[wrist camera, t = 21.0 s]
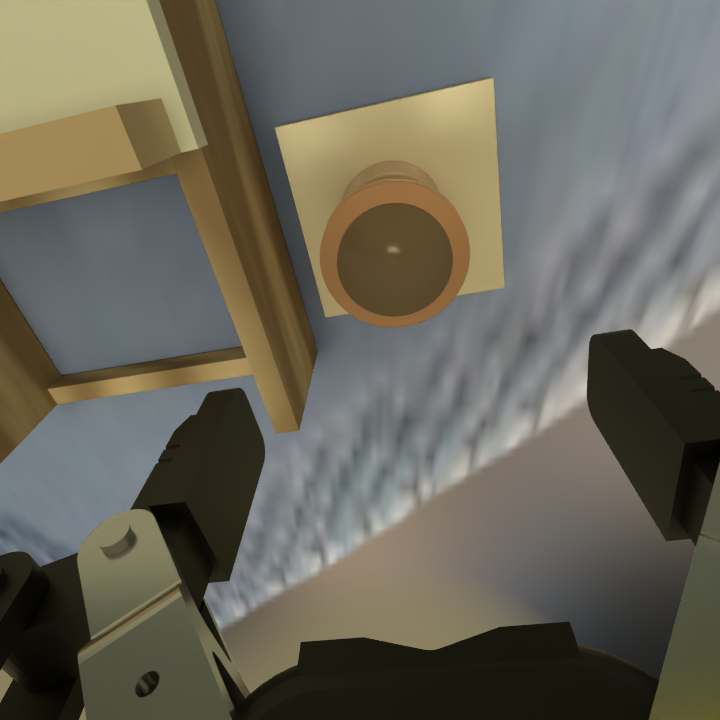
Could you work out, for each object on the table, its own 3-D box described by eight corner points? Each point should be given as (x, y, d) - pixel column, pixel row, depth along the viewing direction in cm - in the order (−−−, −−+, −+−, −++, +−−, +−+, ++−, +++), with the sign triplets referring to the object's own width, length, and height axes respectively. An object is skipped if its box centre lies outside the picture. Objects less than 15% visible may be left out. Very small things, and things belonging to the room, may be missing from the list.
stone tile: (327, 310, 28) (325, 317, 27) (278, 125, 23) (274, 127, 22) (500, 280, 27) (504, 287, 26) (489, 77, 22) (493, 77, 21)
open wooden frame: (54, 393, 32) (-27, 474, 26) (-323, -184, 18) (-698, -316, 12) (317, 352, 30) (298, 430, 23) (111, -358, 16) (-74, -643, 9)
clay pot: (347, 278, 26) (337, 341, 20) (321, 167, 23) (301, 202, 17) (454, 259, 25) (477, 319, 19) (442, 141, 22) (464, 169, 16)
